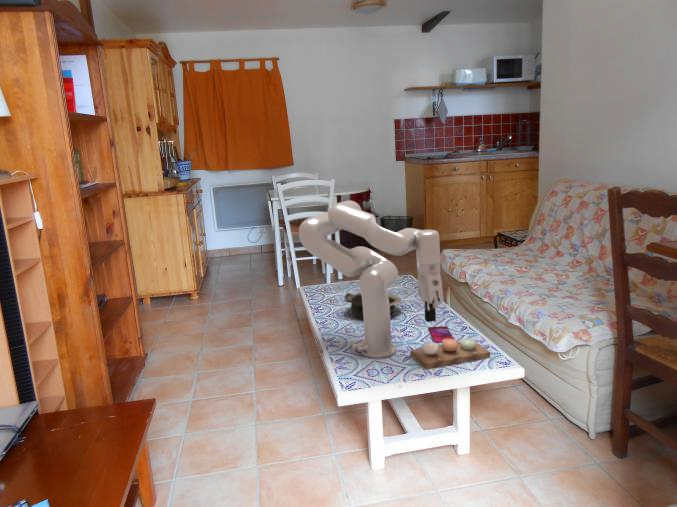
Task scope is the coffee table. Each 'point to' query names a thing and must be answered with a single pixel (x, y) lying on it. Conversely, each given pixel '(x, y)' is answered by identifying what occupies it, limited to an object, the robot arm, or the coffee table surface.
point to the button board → (448, 356)
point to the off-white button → (430, 348)
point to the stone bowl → (358, 305)
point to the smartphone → (440, 333)
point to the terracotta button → (449, 344)
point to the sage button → (467, 344)
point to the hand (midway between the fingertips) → (430, 320)
